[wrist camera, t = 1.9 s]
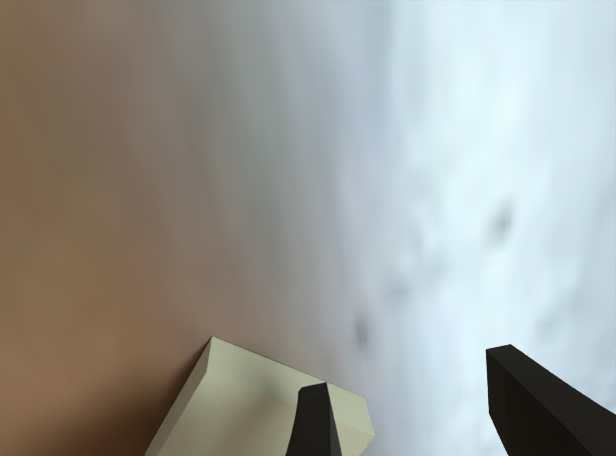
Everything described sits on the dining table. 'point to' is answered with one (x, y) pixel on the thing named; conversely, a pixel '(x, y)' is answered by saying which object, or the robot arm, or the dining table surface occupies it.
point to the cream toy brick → (249, 408)
